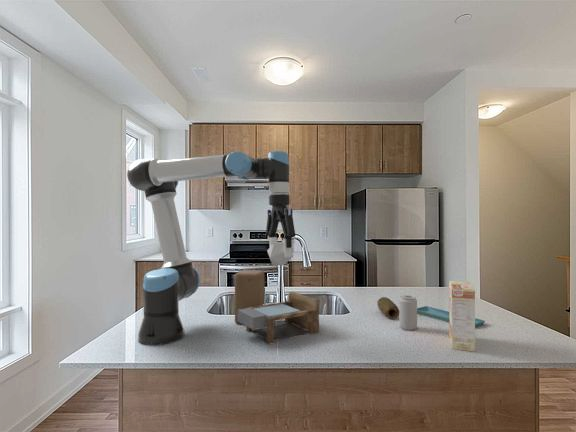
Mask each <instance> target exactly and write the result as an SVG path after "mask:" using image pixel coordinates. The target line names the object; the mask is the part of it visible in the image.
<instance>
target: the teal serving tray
mask: <svg viewBox="0 0 576 432" xmlns="http://www.w3.org/2000/svg"><path fill="white" fill-rule="evenodd" d="M417 315H421V316H423V317H428V318H431V319H435V320H439V321H443V322H446V323H447V322H448V323H449V310H448V311H447V310H444V309H439V308H435V307H431V306H428V305H425V306H420V307H417ZM485 322H486V320H484V319H480V318H476V317H475V328H477V327H480V326H483V325H484V323H485Z"/></svg>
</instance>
